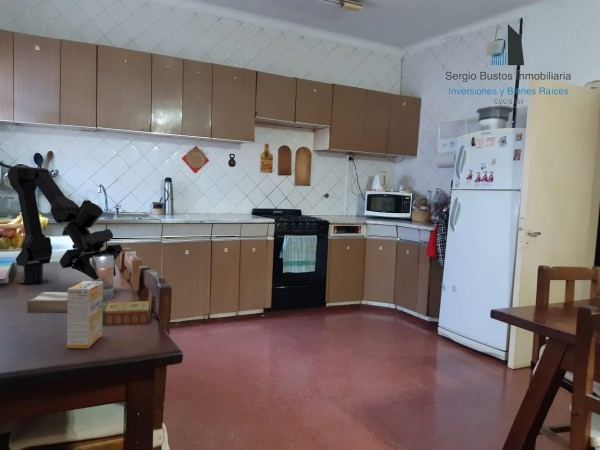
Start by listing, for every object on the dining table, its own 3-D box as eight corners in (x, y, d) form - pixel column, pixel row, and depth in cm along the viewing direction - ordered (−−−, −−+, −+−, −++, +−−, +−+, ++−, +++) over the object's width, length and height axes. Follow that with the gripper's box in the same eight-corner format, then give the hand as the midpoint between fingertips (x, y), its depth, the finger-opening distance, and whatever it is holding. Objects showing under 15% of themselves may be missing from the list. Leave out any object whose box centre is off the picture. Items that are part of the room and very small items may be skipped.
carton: (148, 325, 113) (149, 309, 113) (79, 328, 109) (79, 311, 108) (150, 315, 121) (150, 300, 121) (86, 317, 117) (86, 301, 116)
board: (42, 302, 128) (42, 291, 127) (79, 302, 129) (79, 291, 129) (27, 312, 118) (27, 300, 118) (68, 312, 120) (68, 300, 119)
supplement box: (89, 349, 95) (90, 289, 94) (66, 348, 95) (66, 288, 93) (103, 336, 103) (104, 280, 102) (82, 335, 103) (82, 280, 102)
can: (94, 295, 138) (95, 253, 136) (115, 295, 139) (116, 254, 137) (88, 300, 132) (89, 257, 130) (110, 300, 133) (111, 257, 131)
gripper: (66, 222, 127) (91, 265, 123) (119, 219, 143) (143, 257, 139) (48, 246, 131) (73, 288, 127) (102, 241, 147) (125, 278, 143)
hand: (105, 277), depth 134 cm, fingers closed on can, 6 cm apart
